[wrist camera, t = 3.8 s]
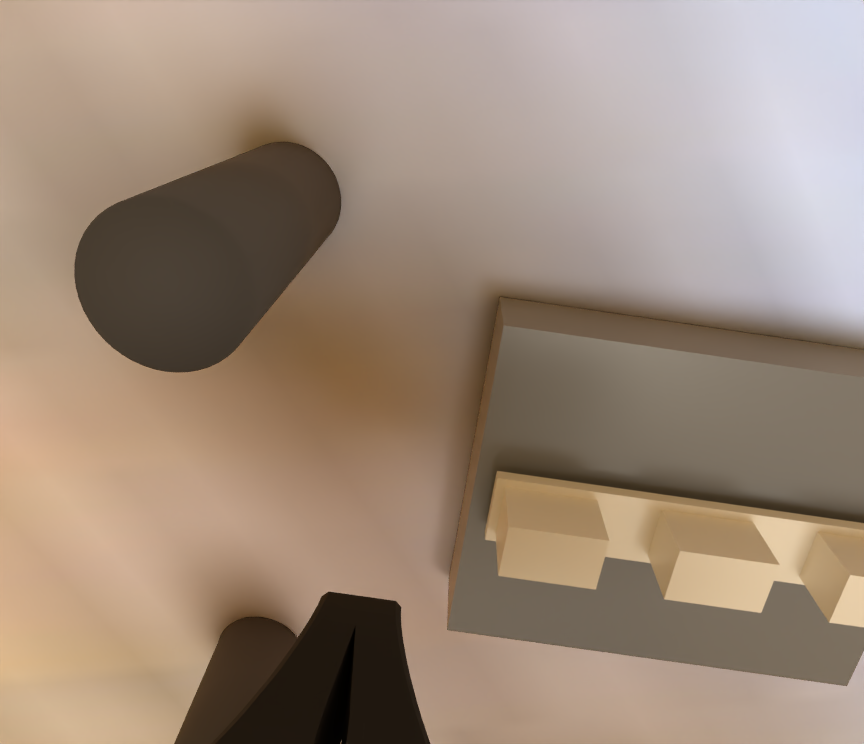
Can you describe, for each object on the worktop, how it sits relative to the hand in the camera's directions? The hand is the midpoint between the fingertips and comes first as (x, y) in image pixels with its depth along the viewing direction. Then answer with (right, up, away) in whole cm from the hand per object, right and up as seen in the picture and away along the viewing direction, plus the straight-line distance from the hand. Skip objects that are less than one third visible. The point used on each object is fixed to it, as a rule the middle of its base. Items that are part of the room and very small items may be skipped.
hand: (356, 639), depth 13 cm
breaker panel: (+7, +2, +5) cm, 9 cm away
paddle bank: (+7, +1, +3) cm, 8 cm away
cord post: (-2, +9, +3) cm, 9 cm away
